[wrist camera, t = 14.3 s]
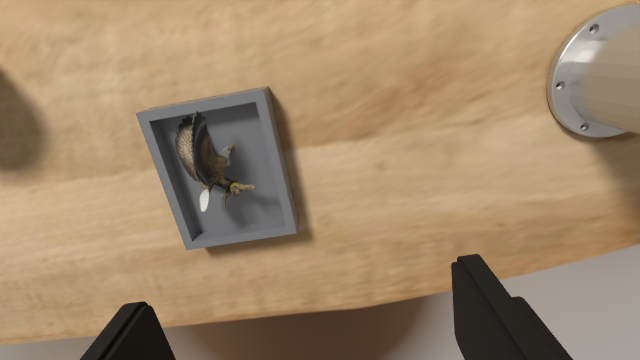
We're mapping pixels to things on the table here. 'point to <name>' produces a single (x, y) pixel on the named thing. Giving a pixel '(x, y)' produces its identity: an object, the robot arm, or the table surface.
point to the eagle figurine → (204, 160)
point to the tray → (242, 166)
